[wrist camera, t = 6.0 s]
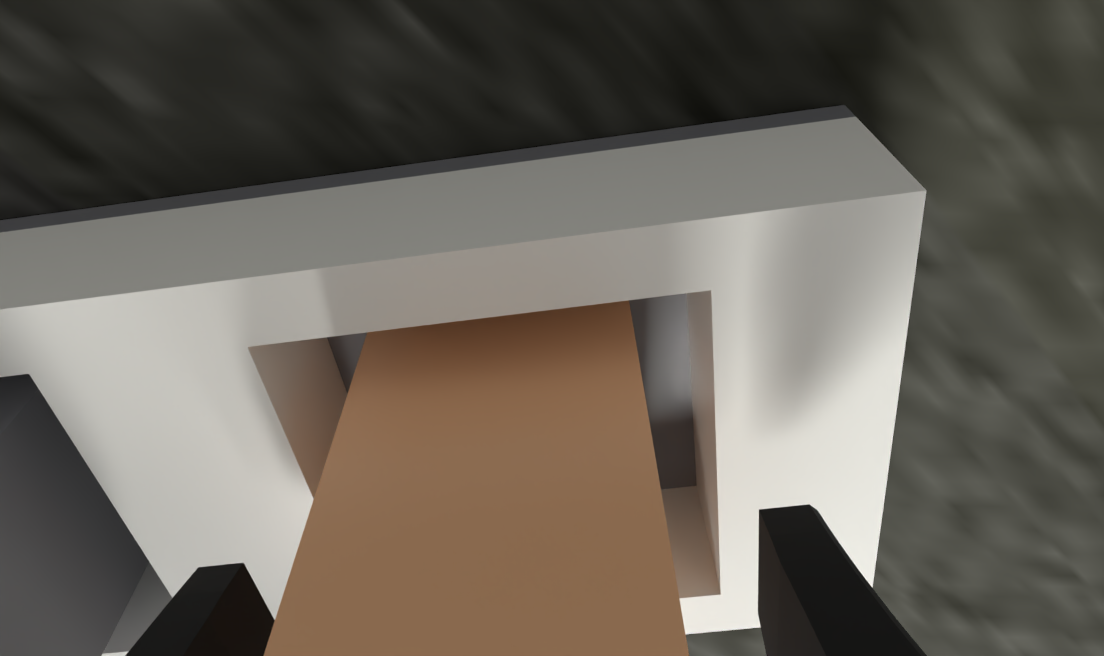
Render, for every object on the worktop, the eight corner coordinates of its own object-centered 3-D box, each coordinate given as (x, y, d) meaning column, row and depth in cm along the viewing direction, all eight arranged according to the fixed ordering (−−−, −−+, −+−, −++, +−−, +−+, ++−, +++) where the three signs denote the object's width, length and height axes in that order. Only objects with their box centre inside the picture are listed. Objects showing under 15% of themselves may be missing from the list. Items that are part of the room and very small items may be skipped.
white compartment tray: (818, 489, 16) (880, 648, 13) (-103, 585, 18) (-236, 749, 15) (845, 104, 12) (948, 213, 9) (-394, 274, 13) (-671, 418, 10)
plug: (640, 454, 15) (719, 989, 8) (430, 476, 15) (344, 1012, 9) (623, 270, 13) (713, 802, 6) (377, 300, 13) (204, 840, 6)
